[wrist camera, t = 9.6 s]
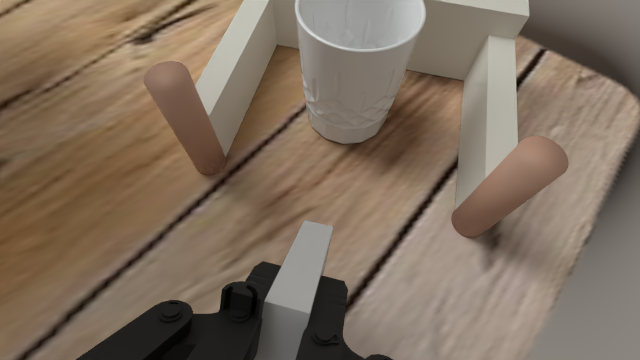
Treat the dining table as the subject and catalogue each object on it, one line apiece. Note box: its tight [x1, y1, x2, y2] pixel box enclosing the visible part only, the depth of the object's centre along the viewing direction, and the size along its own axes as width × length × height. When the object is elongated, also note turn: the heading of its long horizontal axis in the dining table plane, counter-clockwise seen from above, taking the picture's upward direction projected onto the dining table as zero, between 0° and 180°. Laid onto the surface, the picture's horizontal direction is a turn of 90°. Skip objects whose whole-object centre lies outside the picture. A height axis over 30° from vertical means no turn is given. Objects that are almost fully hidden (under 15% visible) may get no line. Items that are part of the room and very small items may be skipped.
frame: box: [144, 0, 568, 238], centre depth 25 cm, size 17×22×9 cm
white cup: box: [295, 0, 426, 144], centre depth 25 cm, size 8×8×10 cm
